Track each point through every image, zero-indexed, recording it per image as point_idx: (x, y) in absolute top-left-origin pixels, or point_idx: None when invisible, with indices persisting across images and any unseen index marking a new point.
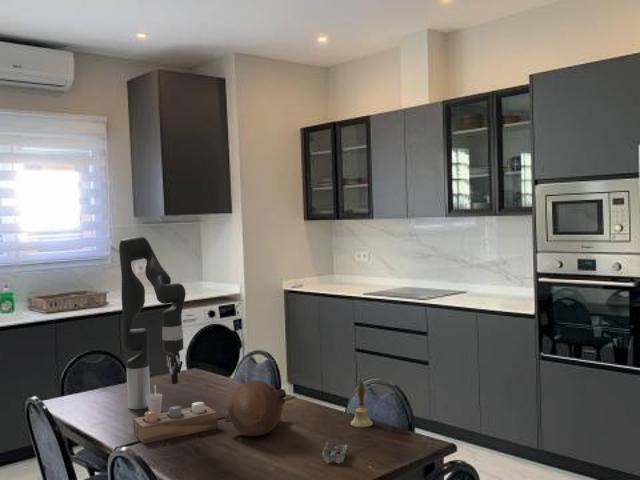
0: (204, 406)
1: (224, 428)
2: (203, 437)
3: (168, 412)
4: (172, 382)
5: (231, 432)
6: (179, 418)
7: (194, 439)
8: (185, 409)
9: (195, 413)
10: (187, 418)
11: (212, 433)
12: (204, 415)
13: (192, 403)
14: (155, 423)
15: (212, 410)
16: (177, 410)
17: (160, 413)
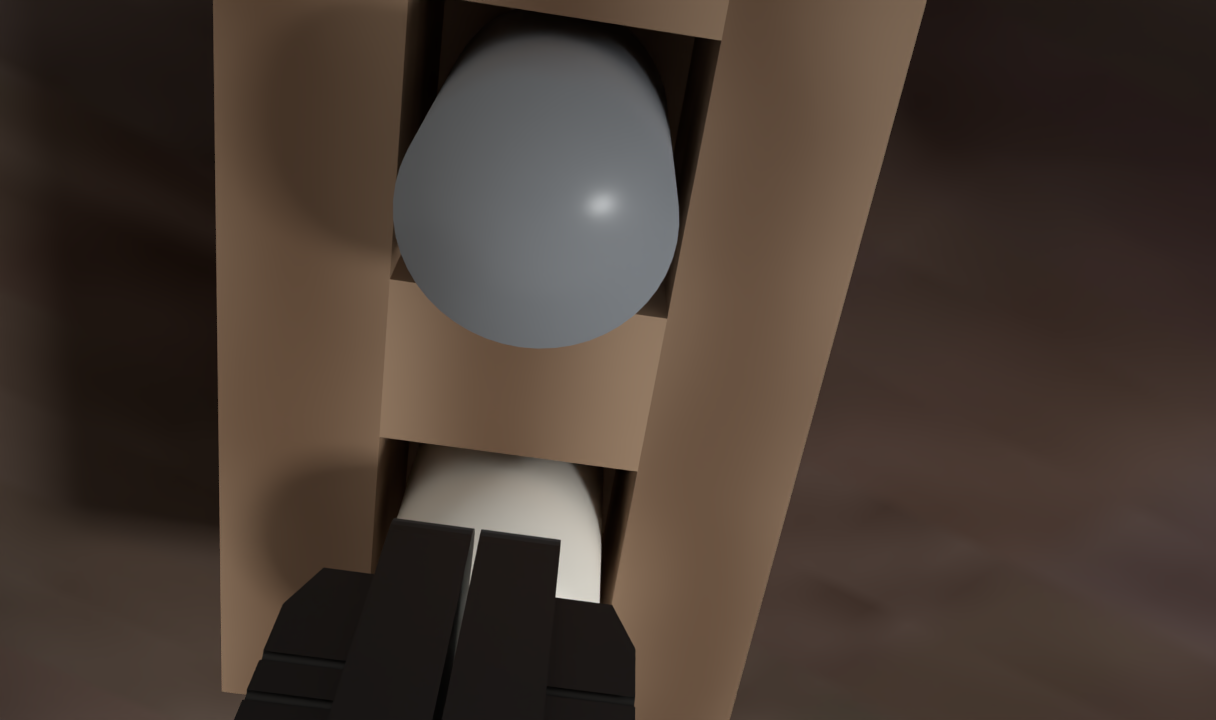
0: (645, 712)
1: (216, 582)
2: (22, 237)
3: (837, 159)
4: (386, 560)
5: (13, 564)
6: (290, 125)
7: (8, 101)
8: (746, 459)
9: (434, 474)
10: (219, 242)
11: (117, 398)
12: (226, 517)
13: (572, 590)
14: None
15: None
16: (397, 198)
17: (914, 2)
